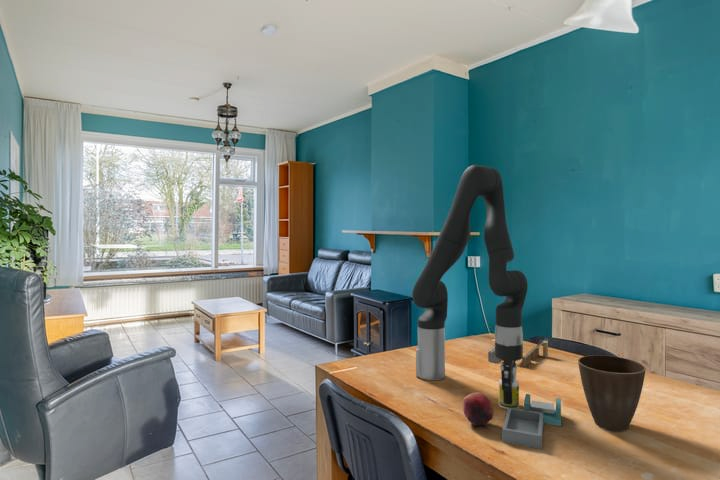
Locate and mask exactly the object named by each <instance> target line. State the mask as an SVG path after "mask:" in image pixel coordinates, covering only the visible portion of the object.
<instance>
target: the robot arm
mask: <svg viewBox="0 0 720 480" xmlns="http://www.w3.org/2000/svg"><path fill="white" fill-rule="evenodd" d="M481 197H482V199H483V202H484V204H485V207H486V208H485V209H486V219H485V220H486V221H485V226H484V230H483V232H484V233H483V234H484V235H483V238H484V243H485V244H484V245H485V247H486V252H487V255H488V256H487V257H488V284H489V288H490V290H491V291H492V293H493V294H494V295H495V296H498V297H505V299H504V301H503V302H501V303H499V304H498V305H496V307H495V328H494V348H495V356H496V357H497V358H499V359H501V360H502V361H501V364H500V375H501V378H500V379H501V380H502V390H503V391H504V404H509V405H511V404H512V390H513V388H512V384H513V383H514V381H515V372H516V373H517V367H518V366H517V365H518V364H517V363H516V361H522V358H523V356H524V339H523V338H524V333H523V316H522V315H523V314H522V313H523V308H524V305H525V302H526V297H527V293H528V287H529V286H528V285H529V284H528V283H529V282H528V279H527V277H526V275H525V273H523V272H522V271H520V270H518V269H516V270H515V269H512V270H507V265H508V263H510V262H512V261H513V260H514V259H515V253H514V248H513V244H512V240H511V237H510V233H509V229H508V224H507V223H508V222H507V217H506V209H505V208H506V207H505V198H504V187H503V179H502V175H501V173H500V172H499V171H498V170H497V169H496V168H494V167H492V166H485V165H480V164H479V165H478V164H472V165H470V166H468V167H467V168H466V169H465V170H464V172H463V173H462V175H461V177H460V179H459V182H458V186H457V188H456V192H455V194H454V197H453V198H454V199H453V201H452V204H451V207H450V209H449V211H448V214H447V216H446V218H445V219H446V220H445V221H444V224H443V226H442V227H441V230H440V232H439V235H438V237H437V239H436V242H435V245H434V247H433V249H432V250H431V253H430V256H429V258H428V260H427V262H426V265H425V266H424V268H423V270H422V271H421V273H420V275H419V277H418V278H417V280H416V282H415V284H414V286H413V289H412V292H411V293H412V294H411V295H412V297H411V298H412V301H413V304H414V305H415V306H416V307H418V308H420V309H425V310H424V312H423V313H422V314H421V315H420V316H419V317H418V319H417V348H416V349H415V371H416V372H415V376H416V377H417V378H420V379H422V380H426V381H440V380H444V379H445V377H446V345H445V344H446V338H445V336H446V335H445V333H446V331H445V329H446V326H445V325H446V320H447V319H448V318H447V317H448V305H449V304H448V303H449V299H448V298H449V296H448V295H449V294H448V289H447V285H446V284H445V282H443V281H442V278H443V277H444V275H445V274H446V273H448V271H449V270H450V269H451V268H452V267H453V266H454V265H455V264H456V263H457V262H458V261H459V260H460V258H461V257H462V255H463V254H464V251H466V247H467V246H468V244H469V241H470V238H471V222H470V216H471V212H472V209H473V206H474V204H475V202H476V201H477V199H478V198H481ZM511 378H512V379H511ZM505 383H506V384H509V386H505Z"/></svg>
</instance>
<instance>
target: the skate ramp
mask: <svg viewBox="0 0 720 480" xmlns="http://www.w3.org/2000/svg"><path fill="white" fill-rule="evenodd" d="M541 346H542V358H548V357H549V339H548V338H544V340H543V339H542V340H540V341H538V343H537V344H536V346H534V347H532V348H531V349H530V350H529V351H528V352H527V353H525V355H523V358H522V359H521V360H520V362H519V363H518V364H517V367H519V368H527V367H528V366H529V365H531V363H532V362H533V361H535V360H536V359H537V358H538V357H539V356H540V347H541ZM487 355H488V357H487V358H488V359H487V361H488V362H491V363H496V364H498V363H499V362H500V361H501V360H502V359H499V358H497V357H496V356H495V345H494V346H492V347H491V348H489V350H488V353H487Z"/></svg>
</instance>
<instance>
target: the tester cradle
mask: <svg viewBox="0 0 720 480" xmlns="http://www.w3.org/2000/svg"><path fill="white" fill-rule="evenodd" d="M523 410H528V411H532V410H531V394H530V393H526V394H525V396H524V401H523ZM535 412H539V411H535ZM541 413H543V424H547V425H552V426H558V427H559V426H560V427H561V426H562V399H561V398H557V397H556V398H555V408H554V414H552V413H545V412H541Z"/></svg>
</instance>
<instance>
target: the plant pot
mask: <svg viewBox="0 0 720 480" xmlns="http://www.w3.org/2000/svg"><path fill="white" fill-rule="evenodd" d="M577 363H578V370H579V375H580V376H579V377H580V380H581V381H580V382H581V385H582V388H583V392H584V396H585V398H586V402H587V405H588V408H589V411H590V414H591V416H592V419H593V422H594V424H595V425H596V426H598V427H599V428H600V429H604V430H607V431H611V432H625V431H627V430H628V429H629V427H630V424H631V423H632V421H633V418H634V417H635V413H636V411H637V408H638V405H639V402H640V398H641V395H642V391H643V386H644V382H645V376H646V366H645V365H644V364H642V363H640V362H639V361H636V360H632V359H629V358H625V357H620V356H616V355H615V356H614V355H606V354H605V355H604V354H603V355H602V354H601V355H600V354H597V355H595V354H594V355H593V354H591V355H584V356H581V357H579V358H578V359H577Z"/></svg>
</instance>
